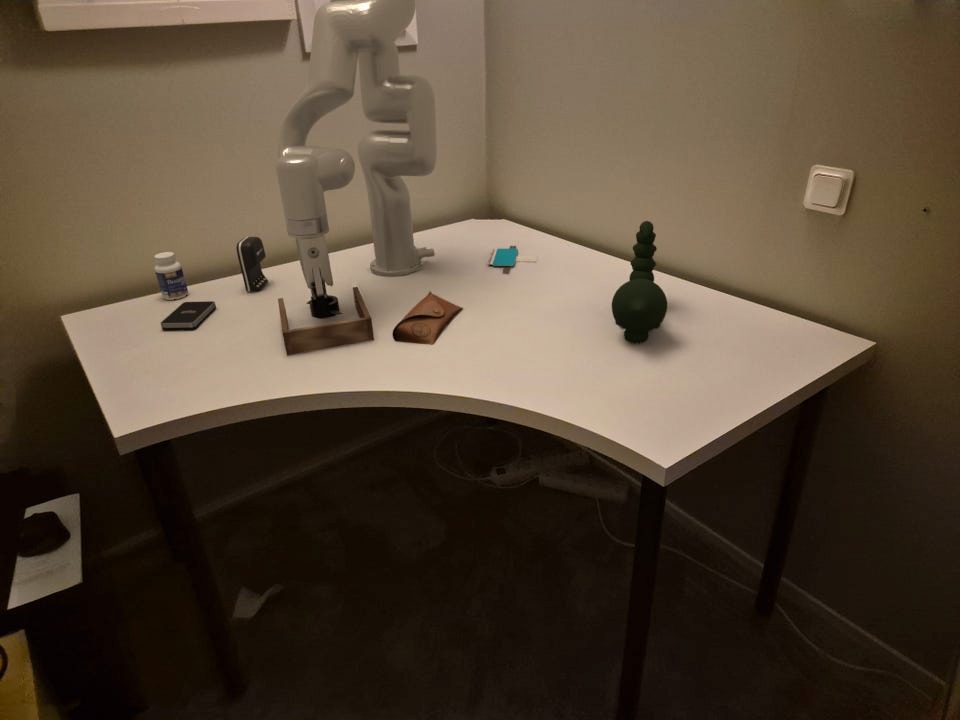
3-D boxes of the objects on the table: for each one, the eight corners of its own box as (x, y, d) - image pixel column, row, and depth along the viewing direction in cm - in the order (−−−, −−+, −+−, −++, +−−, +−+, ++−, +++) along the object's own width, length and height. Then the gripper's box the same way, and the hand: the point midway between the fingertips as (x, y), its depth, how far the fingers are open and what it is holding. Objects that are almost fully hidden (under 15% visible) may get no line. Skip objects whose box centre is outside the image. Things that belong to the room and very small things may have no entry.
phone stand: (534, 276, 145) (534, 269, 145) (483, 275, 147) (483, 269, 146) (538, 248, 163) (538, 242, 162) (493, 248, 164) (493, 241, 164)
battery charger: (261, 293, 141) (251, 243, 136) (245, 293, 141) (234, 244, 136) (273, 281, 147) (263, 234, 142) (257, 281, 147) (246, 234, 142)
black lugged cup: (306, 325, 125) (303, 312, 124) (307, 306, 134) (305, 293, 133) (345, 321, 127) (343, 307, 125) (343, 302, 135) (342, 289, 134)
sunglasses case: (435, 345, 115) (415, 315, 113) (406, 359, 118) (386, 330, 117) (465, 306, 130) (448, 279, 128) (439, 320, 133) (422, 293, 132)
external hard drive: (218, 309, 134) (215, 301, 133) (195, 332, 125) (192, 323, 124) (186, 310, 135) (184, 301, 134) (161, 333, 125) (158, 324, 124)
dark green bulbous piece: (615, 308, 131) (605, 355, 108) (622, 214, 123) (614, 244, 101) (662, 311, 129) (663, 360, 106) (673, 216, 121) (676, 247, 98)
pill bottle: (172, 302, 138) (160, 260, 133) (158, 298, 140) (145, 256, 136) (194, 294, 142) (182, 252, 137) (179, 290, 144) (167, 249, 140)
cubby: (360, 306, 132) (357, 286, 130) (374, 340, 118) (371, 318, 116) (282, 319, 128) (277, 298, 126) (286, 355, 114) (282, 333, 112)
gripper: (333, 233, 111) (346, 327, 120) (323, 212, 123) (336, 299, 132) (289, 238, 109) (306, 333, 117) (284, 217, 121) (300, 304, 130)
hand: (322, 315), depth 125 cm, fingers closed
